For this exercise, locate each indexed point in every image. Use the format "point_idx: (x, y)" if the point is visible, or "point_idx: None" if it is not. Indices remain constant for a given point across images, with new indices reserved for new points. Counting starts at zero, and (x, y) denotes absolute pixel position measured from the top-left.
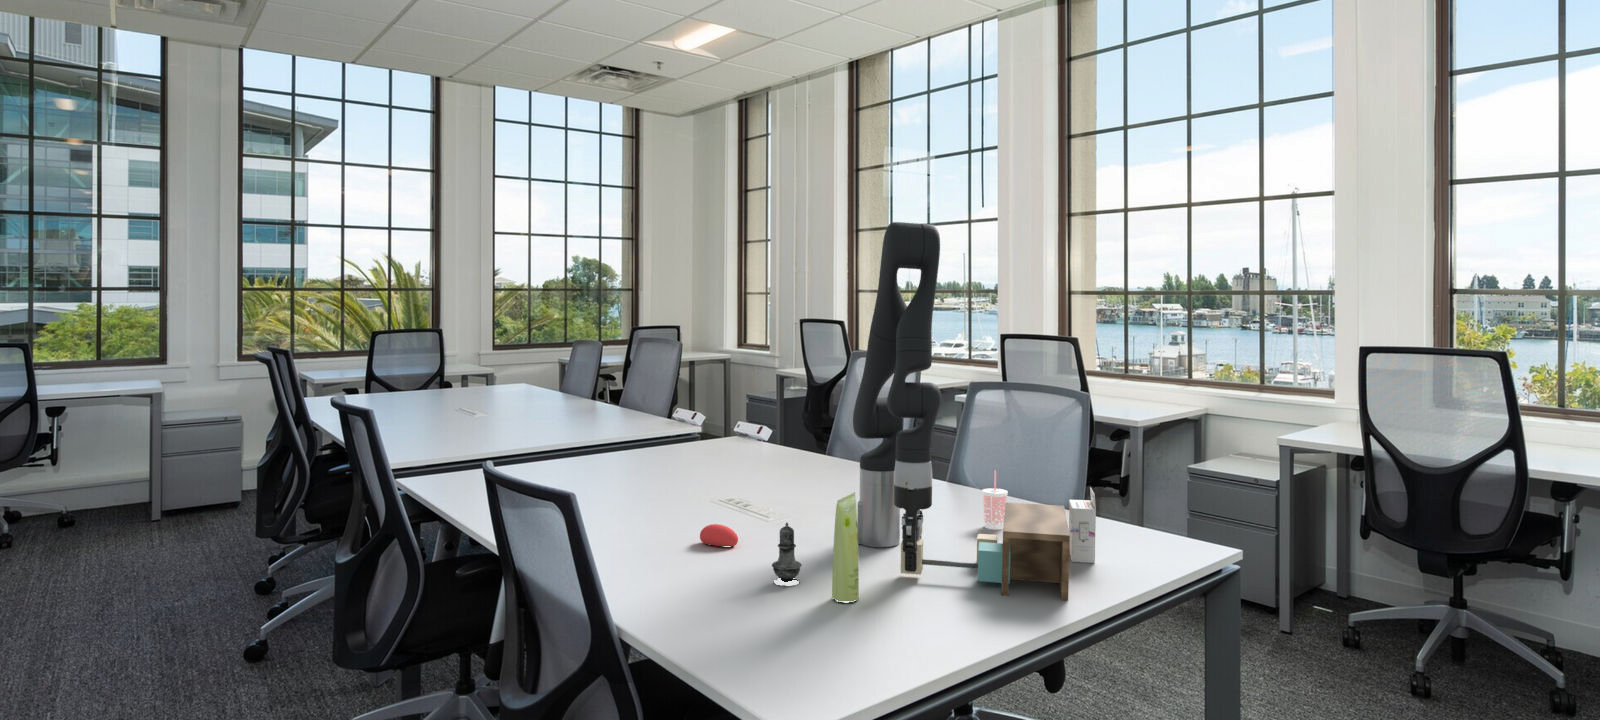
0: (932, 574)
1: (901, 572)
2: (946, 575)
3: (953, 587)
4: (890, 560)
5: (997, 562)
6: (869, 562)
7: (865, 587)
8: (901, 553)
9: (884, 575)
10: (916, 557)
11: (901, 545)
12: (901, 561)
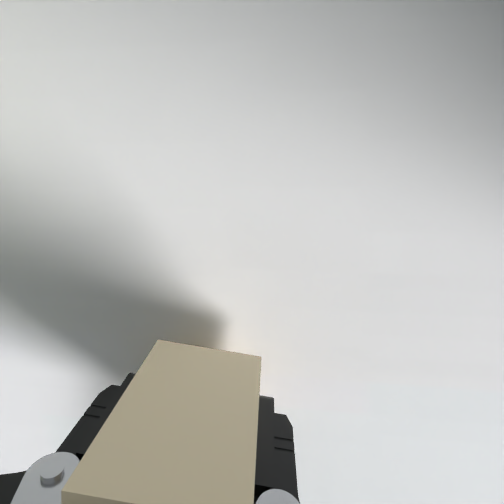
0: None
1: (155, 345)
2: None
3: None
4: (498, 290)
5: None
6: (468, 173)
7: (23, 152)
8: (109, 420)
9: (231, 251)
10: None
11: (74, 475)
12: (133, 382)
